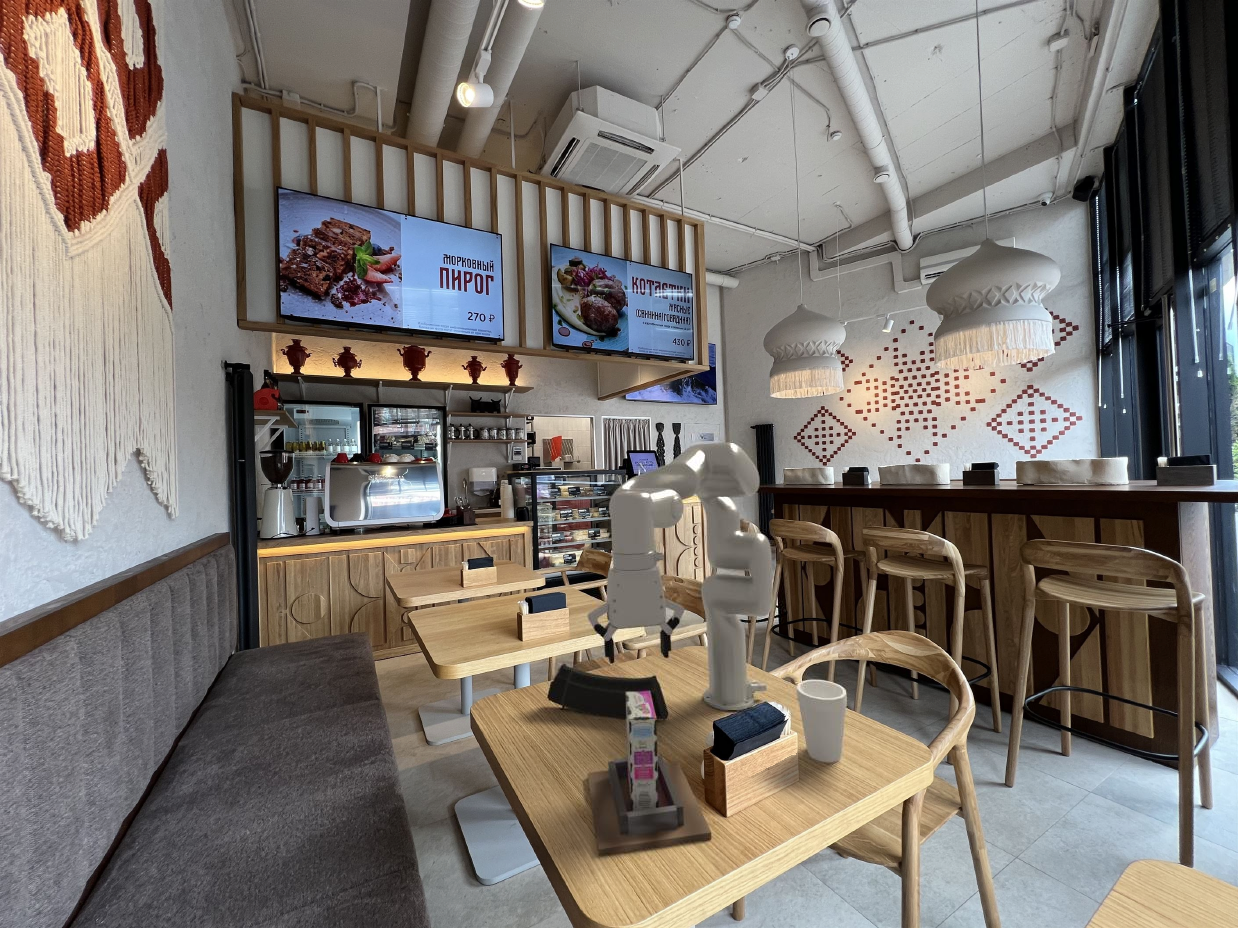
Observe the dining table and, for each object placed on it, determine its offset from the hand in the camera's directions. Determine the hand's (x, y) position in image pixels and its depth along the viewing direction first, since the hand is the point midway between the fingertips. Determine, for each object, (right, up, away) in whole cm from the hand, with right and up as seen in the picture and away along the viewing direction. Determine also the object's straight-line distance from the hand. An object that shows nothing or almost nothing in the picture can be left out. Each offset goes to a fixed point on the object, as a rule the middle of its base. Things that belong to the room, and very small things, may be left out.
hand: (638, 657), depth 89 cm
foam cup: (+38, -25, +13) cm, 47 cm away
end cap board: (+1, -26, -1) cm, 26 cm away
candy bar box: (+1, -25, 0) cm, 25 cm away
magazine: (-6, -27, +33) cm, 43 cm away
